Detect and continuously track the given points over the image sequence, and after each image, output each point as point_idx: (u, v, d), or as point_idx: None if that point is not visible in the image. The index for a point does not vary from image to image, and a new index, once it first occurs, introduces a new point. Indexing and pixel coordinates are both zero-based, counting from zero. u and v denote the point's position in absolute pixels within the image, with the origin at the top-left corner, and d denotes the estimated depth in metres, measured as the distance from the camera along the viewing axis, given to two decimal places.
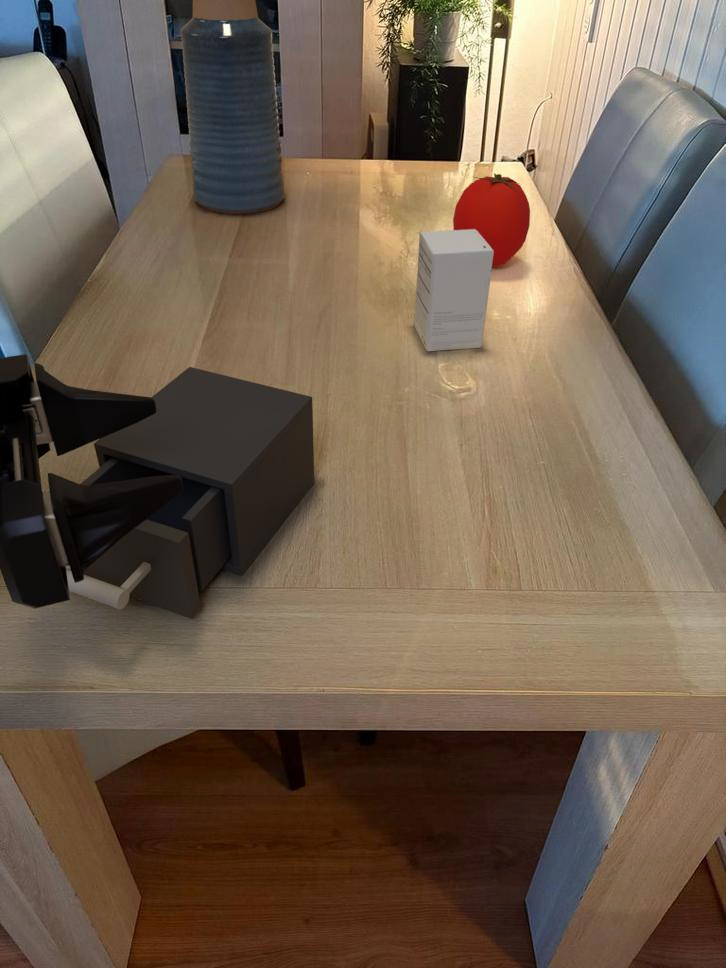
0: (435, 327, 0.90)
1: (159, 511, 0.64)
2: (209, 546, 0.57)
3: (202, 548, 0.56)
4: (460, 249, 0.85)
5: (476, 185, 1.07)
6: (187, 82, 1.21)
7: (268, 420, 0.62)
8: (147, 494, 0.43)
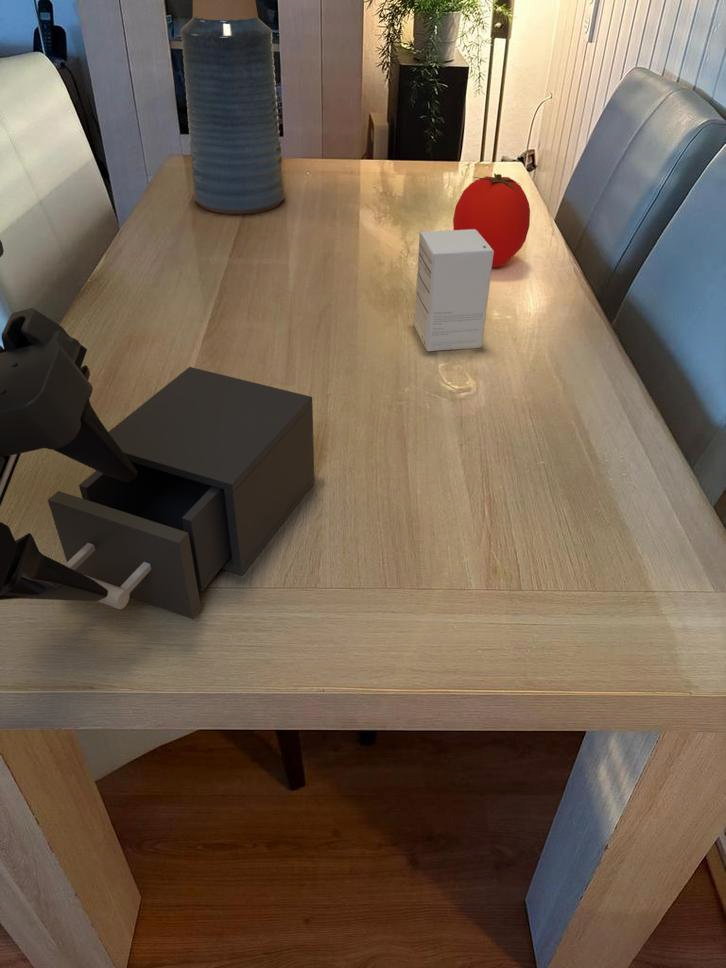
0: (435, 327, 0.90)
1: (159, 511, 0.64)
2: (209, 546, 0.57)
3: (202, 548, 0.56)
4: (460, 249, 0.85)
5: (476, 185, 1.07)
6: (187, 82, 1.21)
7: (268, 420, 0.62)
8: (74, 591, 0.43)
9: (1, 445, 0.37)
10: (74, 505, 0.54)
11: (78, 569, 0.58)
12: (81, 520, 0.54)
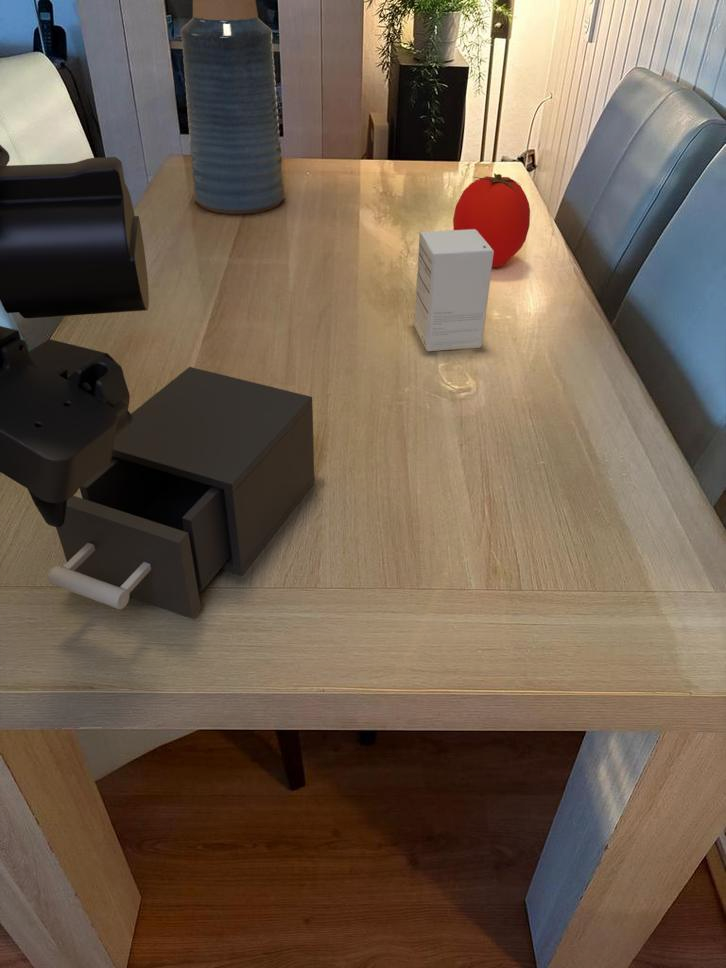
0: (435, 327, 0.90)
1: (159, 511, 0.64)
2: (209, 546, 0.57)
3: (202, 548, 0.56)
4: (460, 249, 0.85)
5: (476, 185, 1.07)
6: (187, 82, 1.21)
7: (268, 420, 0.62)
8: None
9: None
10: (74, 505, 0.54)
11: (78, 569, 0.58)
12: (81, 520, 0.54)
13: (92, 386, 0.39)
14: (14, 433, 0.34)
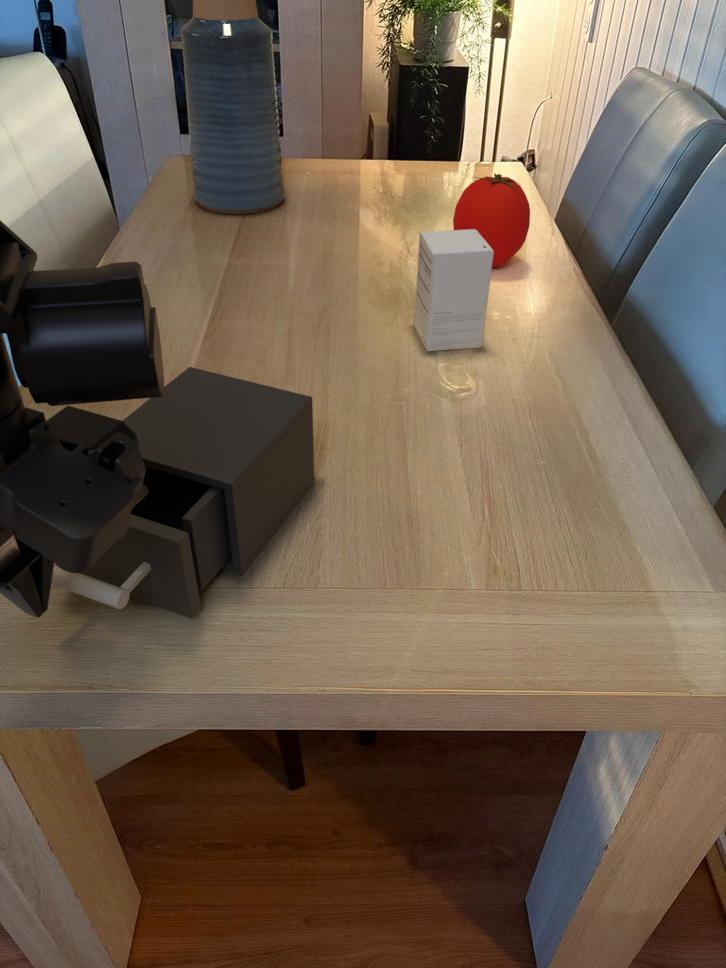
0: (435, 327, 0.90)
1: (159, 511, 0.64)
2: (209, 546, 0.57)
3: (202, 548, 0.56)
4: (460, 249, 0.85)
5: (476, 185, 1.07)
6: (187, 82, 1.21)
7: (268, 420, 0.62)
8: (21, 601, 0.46)
9: (22, 533, 0.38)
10: None
11: None
12: None
13: (110, 460, 0.42)
14: (41, 513, 0.37)
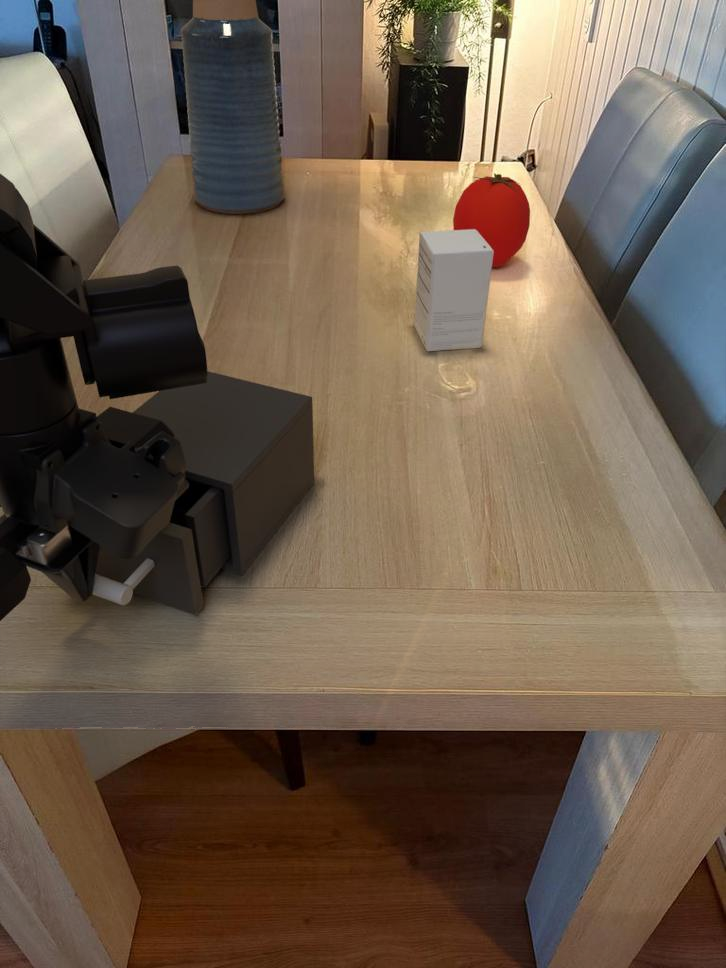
0: (435, 327, 0.90)
1: None
2: (211, 543, 0.57)
3: (205, 545, 0.56)
4: (460, 249, 0.85)
5: (476, 185, 1.07)
6: (187, 82, 1.21)
7: (268, 420, 0.62)
8: (70, 587, 0.50)
9: (78, 522, 0.42)
10: None
11: None
12: None
13: (154, 456, 0.46)
14: (96, 504, 0.41)
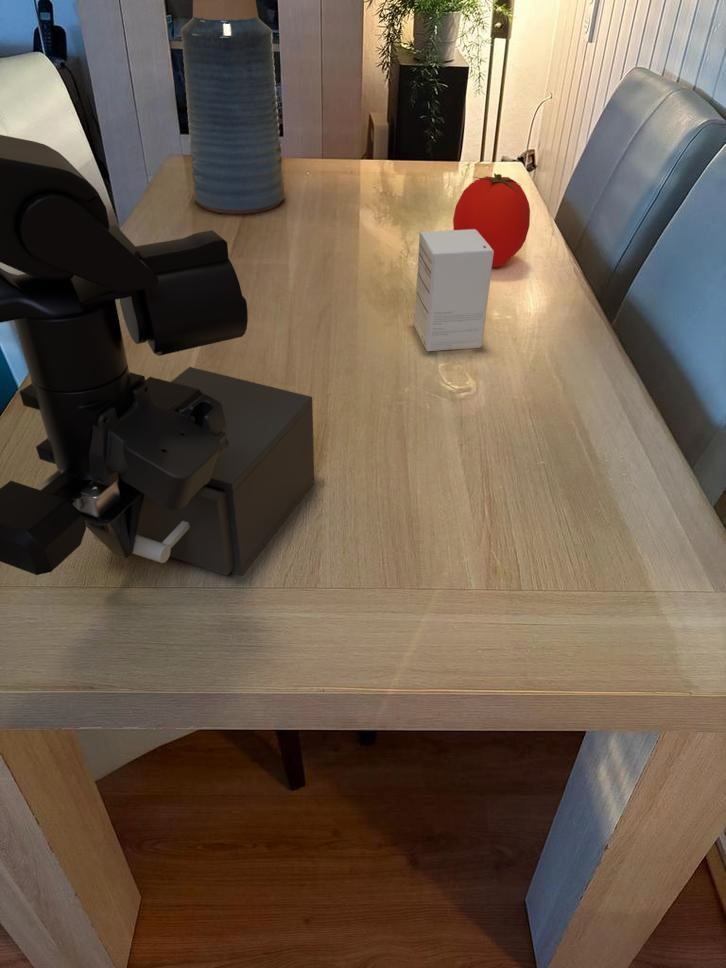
0: (435, 327, 0.90)
1: None
2: None
3: None
4: (460, 249, 0.85)
5: (476, 185, 1.07)
6: (187, 82, 1.21)
7: (268, 420, 0.62)
8: (114, 542, 0.53)
9: (129, 475, 0.46)
10: None
11: None
12: None
13: (196, 418, 0.49)
14: (148, 457, 0.45)
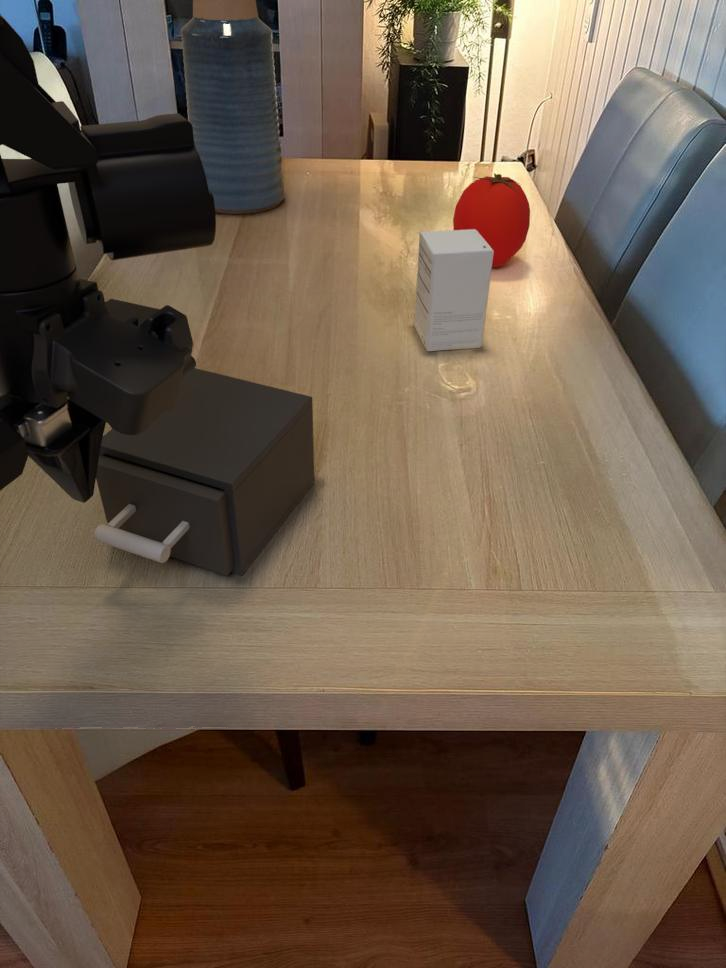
0: (435, 327, 0.90)
1: None
2: None
3: None
4: (460, 249, 0.85)
5: (476, 185, 1.07)
6: (187, 82, 1.21)
7: (268, 420, 0.62)
8: (69, 483, 0.47)
9: (78, 394, 0.40)
10: (117, 467, 0.58)
11: None
12: (124, 482, 0.58)
13: (159, 335, 0.43)
14: (98, 370, 0.38)
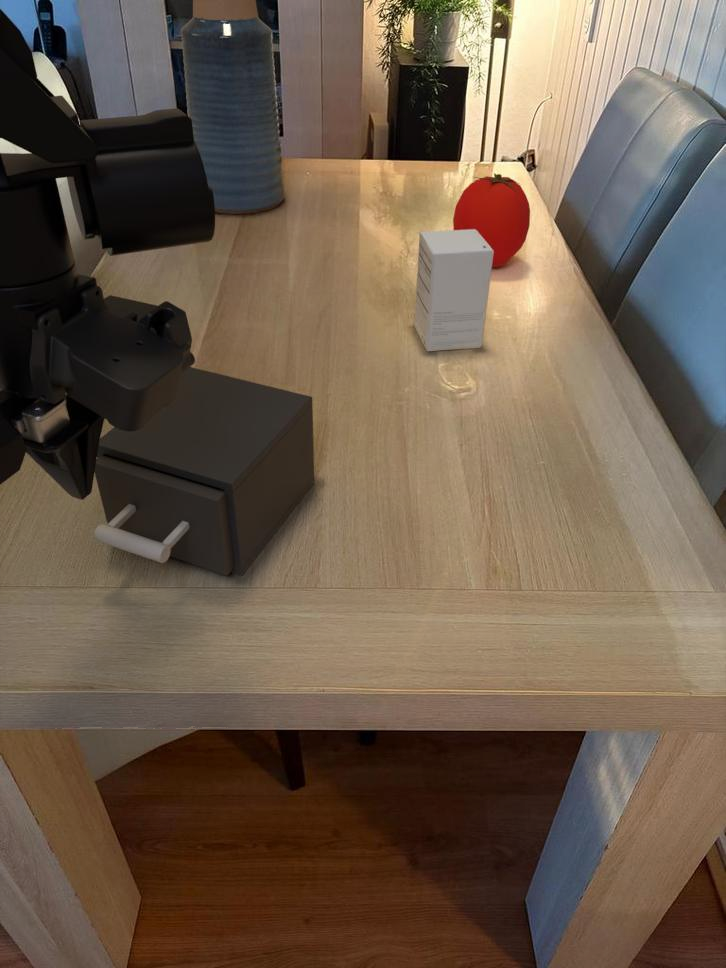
0: (435, 327, 0.90)
1: None
2: None
3: None
4: (460, 249, 0.85)
5: (476, 185, 1.07)
6: (187, 82, 1.21)
7: (268, 420, 0.62)
8: (67, 479, 0.47)
9: (77, 390, 0.39)
10: (117, 467, 0.58)
11: None
12: (124, 482, 0.58)
13: (158, 331, 0.43)
14: (96, 366, 0.38)
